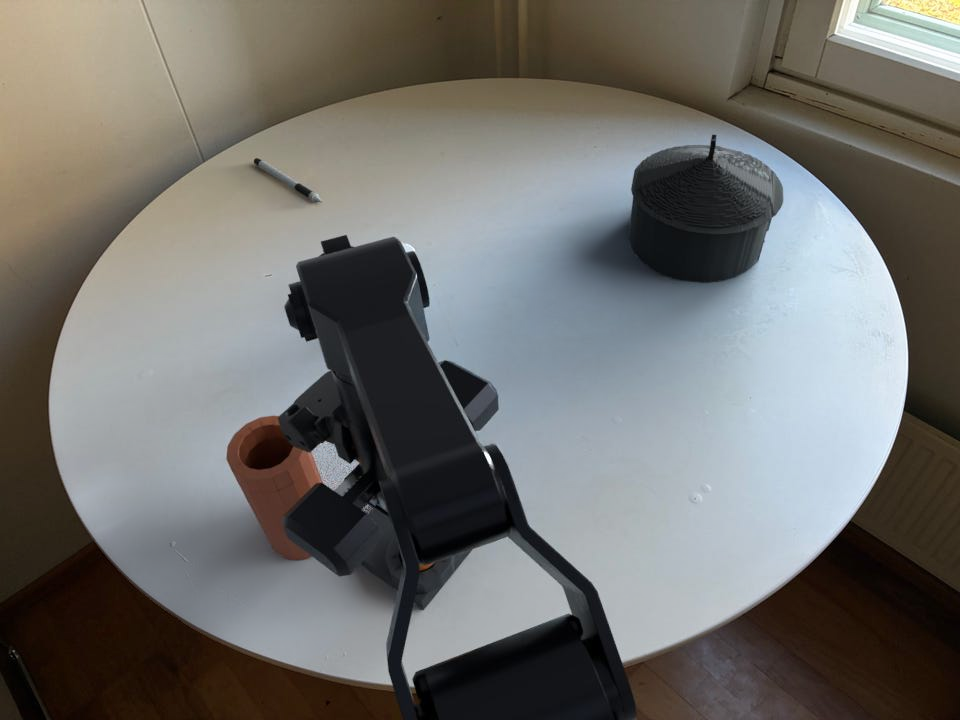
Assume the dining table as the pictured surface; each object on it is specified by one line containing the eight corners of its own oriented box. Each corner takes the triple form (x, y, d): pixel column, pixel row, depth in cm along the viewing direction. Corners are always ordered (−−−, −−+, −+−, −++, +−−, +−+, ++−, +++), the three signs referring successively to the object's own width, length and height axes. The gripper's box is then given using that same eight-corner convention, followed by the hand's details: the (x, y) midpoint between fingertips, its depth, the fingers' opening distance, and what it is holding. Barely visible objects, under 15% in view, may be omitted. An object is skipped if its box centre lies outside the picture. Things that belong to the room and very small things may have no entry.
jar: (302, 573, 72) (263, 493, 62) (255, 536, 75) (210, 454, 64) (350, 522, 75) (321, 438, 65) (303, 489, 78) (268, 404, 68)
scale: (428, 614, 69) (423, 597, 66) (343, 552, 73) (336, 534, 71) (511, 510, 75) (510, 490, 73) (428, 459, 80) (425, 439, 77)
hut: (768, 294, 94) (800, 192, 82) (619, 276, 97) (630, 177, 86) (767, 203, 105) (794, 104, 94) (633, 191, 109) (645, 93, 98)
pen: (260, 162, 119) (258, 155, 118) (326, 203, 111) (324, 196, 110) (253, 166, 118) (251, 159, 117) (319, 208, 110) (317, 200, 109)
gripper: (385, 278, 61) (409, 401, 72) (201, 435, 51) (263, 548, 63) (499, 335, 56) (505, 457, 68) (319, 519, 46) (362, 624, 58)
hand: (410, 515), depth 64 cm, fingers closed
